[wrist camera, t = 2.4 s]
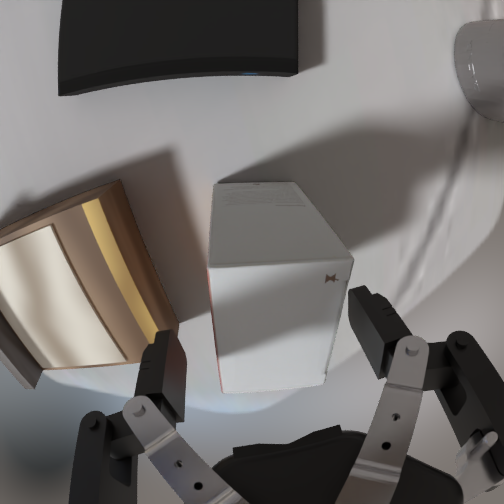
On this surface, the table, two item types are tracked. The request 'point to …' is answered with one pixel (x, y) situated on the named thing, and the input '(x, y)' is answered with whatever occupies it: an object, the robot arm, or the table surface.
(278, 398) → the table surface
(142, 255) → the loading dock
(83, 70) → the external hard drive
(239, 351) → the small box
